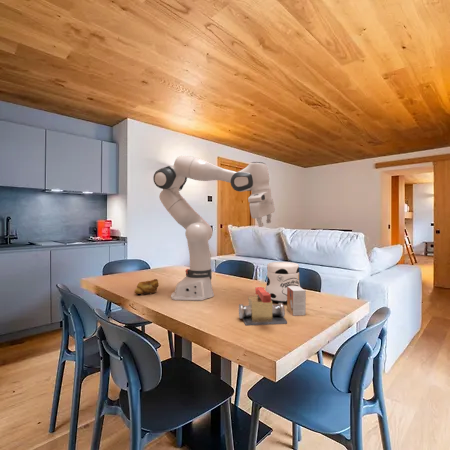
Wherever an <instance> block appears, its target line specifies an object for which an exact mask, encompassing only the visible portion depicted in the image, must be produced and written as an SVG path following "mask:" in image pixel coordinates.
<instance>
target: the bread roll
mask: <svg viewBox="0 0 450 450" xmlns="http://www.w3.org/2000/svg"><path fill="white" fill-rule="evenodd" d="M158 287H159V279H158V278H155V279H151V280H146V281H139V282H138V284H137V285H136V288H135V289H134V294H135V295H137V294H144V295H150V294H149V293H153V294H155V293H156V292H157V289H158Z"/></svg>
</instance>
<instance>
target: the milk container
mask: <svg viewBox="0 0 450 450" xmlns="http://www.w3.org/2000/svg"><path fill="white" fill-rule="evenodd" d="M266 268H267V271H266V277H267V278H266V279H267V280H266V284H265V288H264V290H265V291H266V292H268V293H269V294H270V295H271V301H272V302H277V303H283V304H284V303H285V304H287V286H299V287H301V284H300V265H299V264H298V263H296V262H291V261H290V262H289V261H274V262H268V263H267V266H266Z"/></svg>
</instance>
